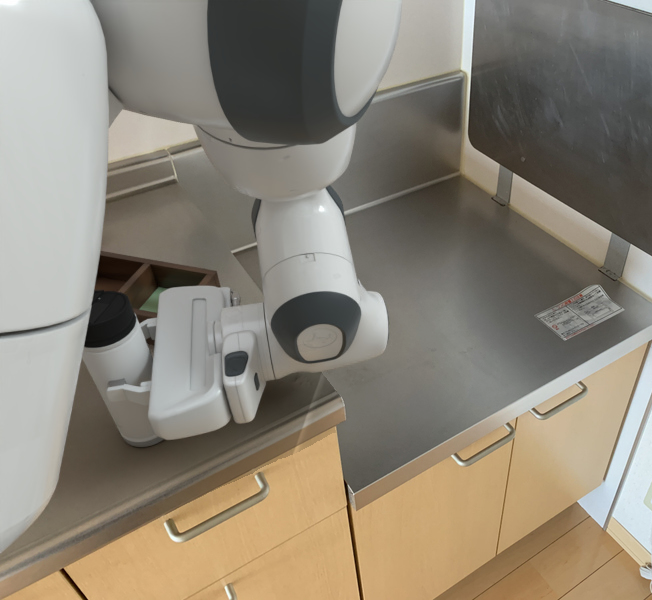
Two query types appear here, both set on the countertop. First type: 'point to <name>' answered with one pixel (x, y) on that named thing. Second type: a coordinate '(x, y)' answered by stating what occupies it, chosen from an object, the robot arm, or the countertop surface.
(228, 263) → the countertop surface
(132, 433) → the travel mug
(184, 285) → the divided wooden tray
